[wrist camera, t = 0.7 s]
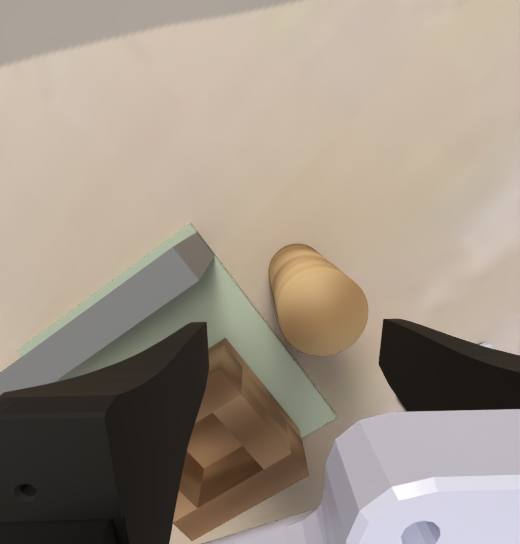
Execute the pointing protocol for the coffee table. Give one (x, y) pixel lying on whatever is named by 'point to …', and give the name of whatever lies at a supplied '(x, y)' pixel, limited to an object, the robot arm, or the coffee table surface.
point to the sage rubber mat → (209, 336)
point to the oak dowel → (316, 301)
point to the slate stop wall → (111, 316)
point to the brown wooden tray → (235, 447)
